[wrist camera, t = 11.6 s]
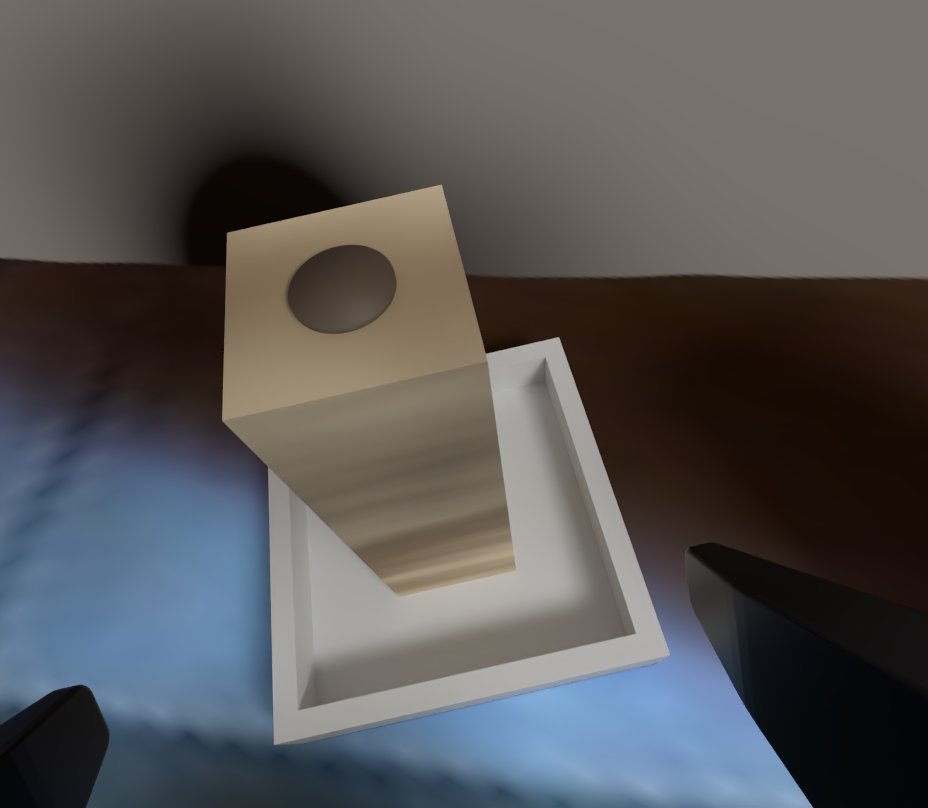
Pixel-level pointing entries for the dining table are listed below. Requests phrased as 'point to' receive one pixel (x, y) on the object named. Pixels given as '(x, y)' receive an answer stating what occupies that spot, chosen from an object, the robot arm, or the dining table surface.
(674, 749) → the dining table surface
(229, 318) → the maple block
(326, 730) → the tray
